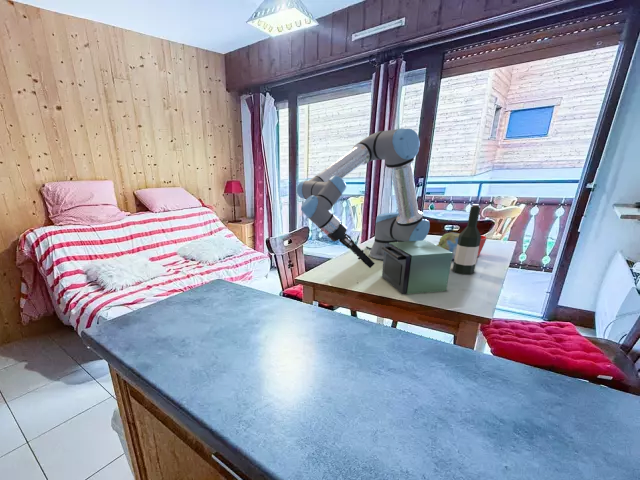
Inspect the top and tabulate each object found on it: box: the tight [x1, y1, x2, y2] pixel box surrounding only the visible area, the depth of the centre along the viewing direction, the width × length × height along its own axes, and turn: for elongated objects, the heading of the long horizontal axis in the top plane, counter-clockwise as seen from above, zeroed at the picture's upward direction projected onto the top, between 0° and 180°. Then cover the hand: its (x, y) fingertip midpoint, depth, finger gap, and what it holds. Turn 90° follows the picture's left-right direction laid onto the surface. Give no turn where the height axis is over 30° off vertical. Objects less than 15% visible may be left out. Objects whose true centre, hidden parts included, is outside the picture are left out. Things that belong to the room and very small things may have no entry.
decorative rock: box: [436, 232, 460, 260], centre depth 165 cm, size 14×16×15 cm
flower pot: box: [477, 234, 487, 257], centre depth 169 cm, size 11×11×10 cm
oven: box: [389, 239, 453, 295], centre depth 136 cm, size 16×20×16 cm
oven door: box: [381, 243, 410, 295], centre depth 136 cm, size 4×20×16 cm, turn 3°
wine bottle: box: [452, 203, 482, 275], centre depth 143 cm, size 8×8×30 cm
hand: (371, 265), depth 135 cm, fingers closed
